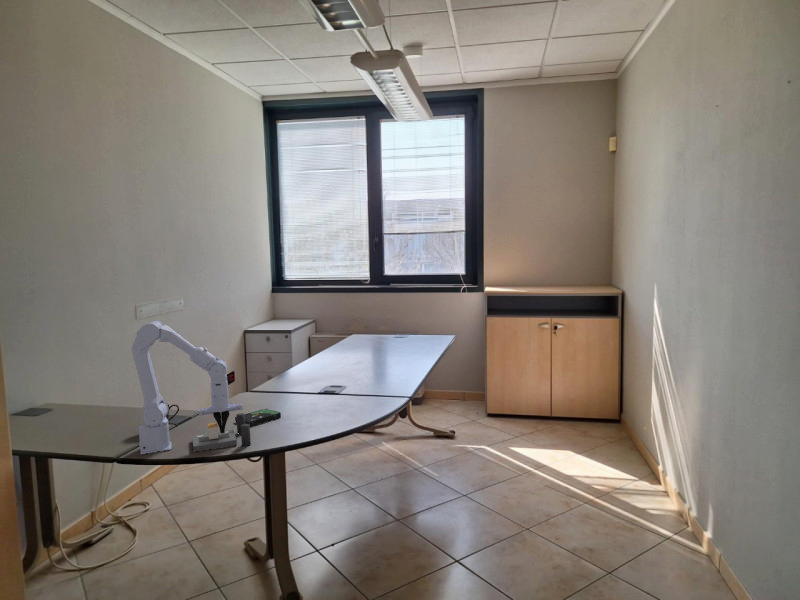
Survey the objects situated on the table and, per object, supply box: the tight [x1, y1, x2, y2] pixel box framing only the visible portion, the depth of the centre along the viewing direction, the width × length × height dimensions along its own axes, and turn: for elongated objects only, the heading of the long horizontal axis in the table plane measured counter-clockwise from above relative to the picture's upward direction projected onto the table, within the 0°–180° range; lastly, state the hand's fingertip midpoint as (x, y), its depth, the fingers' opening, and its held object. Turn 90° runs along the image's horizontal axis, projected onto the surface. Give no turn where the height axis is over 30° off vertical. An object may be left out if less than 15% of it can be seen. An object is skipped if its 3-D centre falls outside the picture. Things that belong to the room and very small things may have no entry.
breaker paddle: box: [207, 422, 219, 440], centre depth 188 cm, size 3×4×4 cm
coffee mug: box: [164, 401, 180, 423], centre depth 205 cm, size 12×9×10 cm
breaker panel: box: [191, 429, 238, 452], centre depth 189 cm, size 14×12×2 cm
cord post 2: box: [240, 424, 252, 447], centre depth 186 cm, size 3×3×7 cm
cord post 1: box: [235, 412, 246, 435], centre depth 199 cm, size 3×3×7 cm
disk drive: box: [234, 408, 282, 428], centre depth 214 cm, size 10×3×15 cm
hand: (222, 432), depth 190 cm, fingers closed
